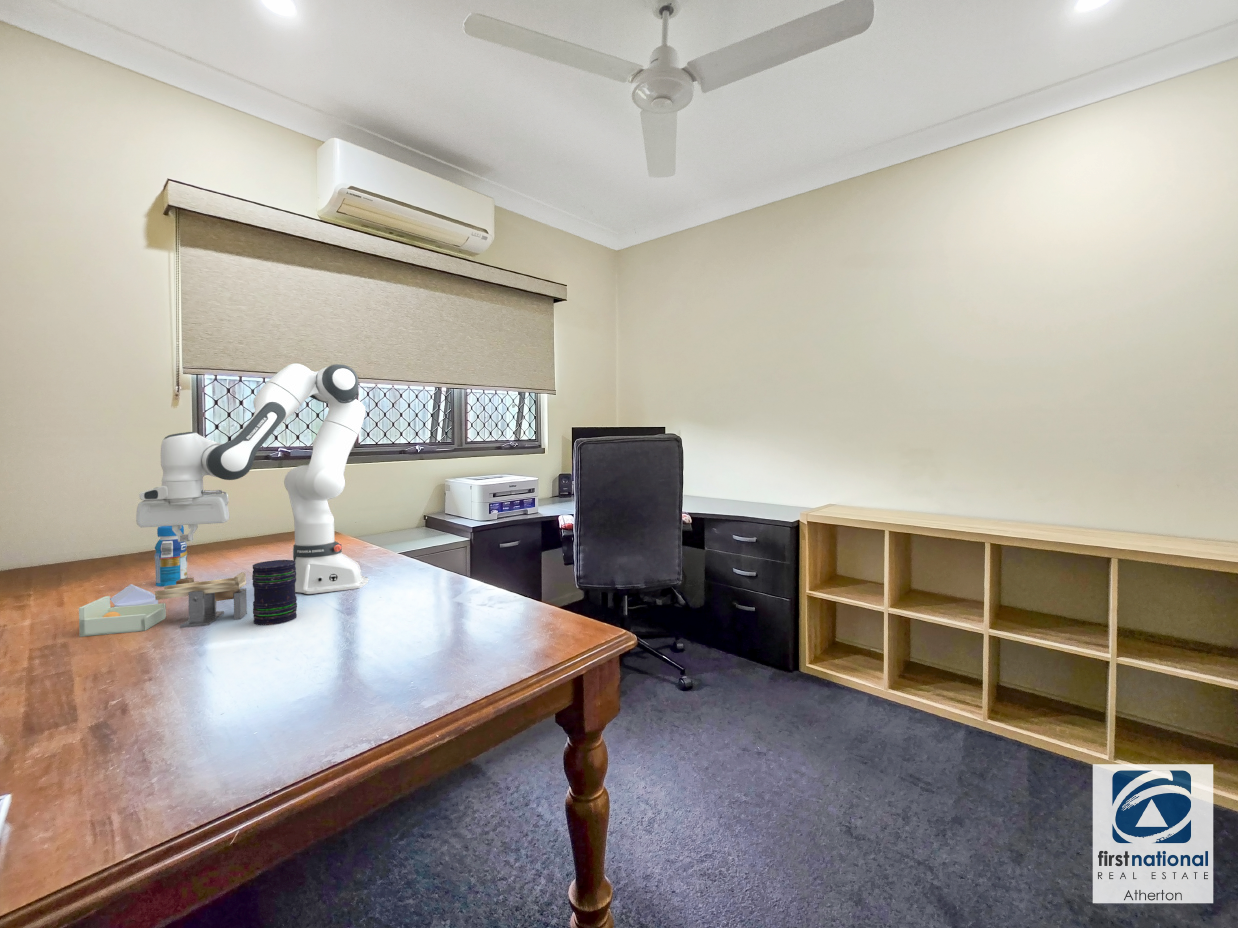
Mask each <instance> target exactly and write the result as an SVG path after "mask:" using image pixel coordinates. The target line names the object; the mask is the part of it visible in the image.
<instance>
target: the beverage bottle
mask: <svg viewBox="0 0 1238 928" xmlns="http://www.w3.org/2000/svg"><path fill="white" fill-rule="evenodd" d="M184 528H185V527H184V525H182V528H181V529H180V531H181V532H182V533H183V535H185V533H184V532H185V529H184ZM156 529H157V531H156V532H157V533H156V534H157V537H158V538H159V539H158V540H157V542H156V543H155V545H154V551H155V554H154V555H153V556H154V563H155V567H154V568H155V570H154V571H155V586H156V587H165V586H170V585H176V581H178V580H180V579H185V578H188V550H187V547H188V544H187V541H186V542H178V536H177V535H176V534H175V533H174V531H173V530H172V526H159V527H157V528H156Z"/></svg>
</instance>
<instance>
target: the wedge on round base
mask: <svg viewBox="0 0 1238 928" xmlns="http://www.w3.org/2000/svg"><path fill="white" fill-rule="evenodd" d="M110 602H112V603H113V607H123V606H135V605H148V604H159V600H156V599H155V593H153V592H152V591H148V590H147V589H144V588H141V587H139V586H136V585H135V584H132V583H131V584H128V585H127V586H126V587H124V588H123V589H122V590H120V591H119V592H118V593H116V594H115V595H113V596H112V597H110Z"/></svg>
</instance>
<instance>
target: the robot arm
mask: <svg viewBox="0 0 1238 928" xmlns="http://www.w3.org/2000/svg"><path fill="white" fill-rule="evenodd" d="M359 395H360V393H359V377H358V373H357V372H356V371H355V370H354V369H353V368H351V366H348V365H345V364H341V363H339V364H338V363H336V364H331V365H329V366H326V367H323V368H321V369H320V370H317V371H313V370H311V369H310V368H309V367H307V366H305V365H304V364H301V363H296V362H295V363H290V364H288V365H286V366H285V367H284V368H282V369H281V370H278V372H276V373H275V374H274V375H273V376H272V377H271V378H270V379H269V380H268V381H266V383H264V384H263V385H262V386H261V388H260V389H259V391H258V392H257V394H255V397H254V398H253V408H254V409H255V410H254V413H253V416H252V418H250V420H249V421H248V422H247V423H246V424H245V426H244V427H243V428H242V429H241V430H240V431H239V432H238V433H237V435H236V436H235V437H233V438H232V439H231V440H229V441H227V442H224V443H221V442H217V441H215V440H212V439H210V438H207V437H204V436H202V435H201V434H199V433H198V432H196V431H186V432H185V431H184V432H179V433H172V434H169V435H167V436H165V437H164V438H163V439H162V441H161V445H160V468H161V469H162V477H161V486H157V487H154V488H151V489H148V490H144V491H142V492H140V493H139V495H138V496H139V497H138V498H139V500H141V501H140V502H139V503H138V504H137V506H136V517H135V519H136V520H135V521H136V524H137V526H138V527H139V528H156V527H157V528H158V527H161V526H172V530H173V531H174V533H175V534H176V535H177V536H178V542H186V543H187V542H193V540H194V534H195V532H196V531H197V529H198V527H199V525H209V524H210V525H211V524H212V525H213V524H214V525H215V524H224V523H226V522H228V520H230V510H229V506H228V504H229V501H230V500H229V495H228V493H227V492H225V491H223V490H222V489H215V490H214V489H213V490H206V489H205V490H204V476H210V477H214V478H219V479H221V480H226V481H233V480H234V481H235V480H238V479H242V478H243V477H244V476H246V475H247V474H248V473H249V472H250V471H251V469H252V467H253V465H254V460H255V458H256V455H257V452H258V451H259V450H260V448H261V447H263V445H264V443H266V441H267V440H268V439H269V438H270V437H271V435H272V434H273V433H274V432H275V431H276V429H277V428H278V427H279V426H280V425H281V424H283V422H285V421H286V420H287V419H289V417H291V416H292V415H293V414H294V413H295V412H296V411H297V410H298V409H299V407H301V406H302V405H303V404H304V403H305V401H306V400H307V399H309V398H310V399H313V400H316V401H318V402H320V403H326V404H327V403H328V412H327V414H326V416H325V418H324V419H323V421H322V423H321V425H320V427H319V429H318V432H317V433H316V435H315V438H314V439H313V441H312V453H311V458H310V460H309V462H308V464H303V465H298V466H296V467H294V468H292V469H291V470H290V469H289V471H287V473H286V475H285V477H284V480H283V482H284V483H283V484H284V487H285V489H286V492H287V493H288V497H289V501H290V506H291V510H292V514H293V523H294V544H293V548H292V560H294V561H296V565H295V566H296V583H295V593H300V594H301V593H302V594H305V595H312V594H314V595H315V594H321V593H322V594H323V593H329V592H330V593H331V592H337V591H346V590H355V589H356V590H357V589H360V588H363V586H364V585H365V586H367V585H368V584H369V582H368V581H370V579H369V577H367V576H365V575H364V576H363V575H362V571H361V570H362V569H361V566H360V564H359V563H358V562H357V561H356V560H354V559H352V558H351V557H349V556H347V555H346V554H344V553H342V550H343V548H342V547H343V546H342V545H343V544H342V543H341V542H338V541H336V540H335V517H334V514H333V513H332V511H331V507H330V506H329V502H328V500H332V499H335V498H337V497H339V496H340V495H341V494H342V493H343V491H344V490H345V487H346V480H345V470H346V466H347V461H348V459H349V455H350V453H351V452H352V449H353V447H354V445H355V442H356V441H357V438H358V436H359V434H360V432H361V429H362V426H363V423H364V420H365V416H366V411H367V410H366V407H365V405H364V404H363V403H362V402H361V401H360V400H358V397H359ZM182 525H183V526H187V527H188V530H189V531H188V534H187V533H186V534H183V533H182V532H181V531H180V529H181V528H182ZM365 577H367V578H365ZM366 584H367V585H366ZM365 586H364V587H365Z"/></svg>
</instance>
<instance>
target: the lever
mask: <svg viewBox="0 0 1238 928" xmlns="http://www.w3.org/2000/svg"><path fill="white" fill-rule="evenodd" d="M246 585H247V578H246V572H245V571H242V572H240V573H238V574H237V575H235V576H234V577H229V578H227V577H226V578H220V579H211V580H204V581H203V580H202V581H195V579H194V577H187V578H185V579H180V580H178V581H176V585H170V586H164V589H161V590H160V589H159V590H155V591H154V595H155V599H156V600H158V601H159V600H165V599H175V598H183V597H188V592H190V591H202V590H204V594H207V593H215V601H216V602H219V601H229V600H234V593H235V592H236V591H238V590H239V589H243V587H244V586H246Z"/></svg>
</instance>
